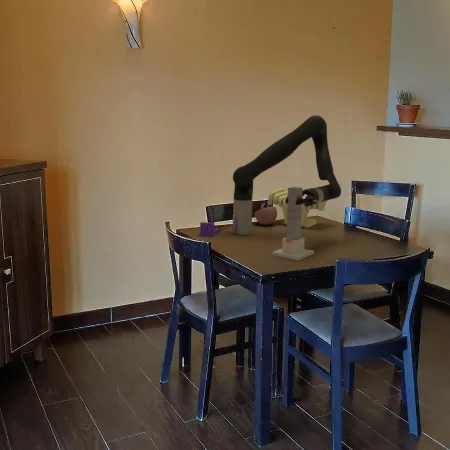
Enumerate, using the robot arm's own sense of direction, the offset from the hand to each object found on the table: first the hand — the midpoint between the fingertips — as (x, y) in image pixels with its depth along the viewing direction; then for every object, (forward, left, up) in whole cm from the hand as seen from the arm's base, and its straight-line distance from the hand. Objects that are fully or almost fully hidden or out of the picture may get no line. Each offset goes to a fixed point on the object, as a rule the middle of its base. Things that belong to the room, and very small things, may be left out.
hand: (291, 201), depth 241 cm
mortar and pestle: (-15, +60, -24) cm, 66 cm away
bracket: (-40, +35, -24) cm, 59 cm away
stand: (+1, +2, -23) cm, 24 cm away
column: (+1, +2, -16) cm, 17 cm away
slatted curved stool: (+3, +64, -24) cm, 68 cm away
